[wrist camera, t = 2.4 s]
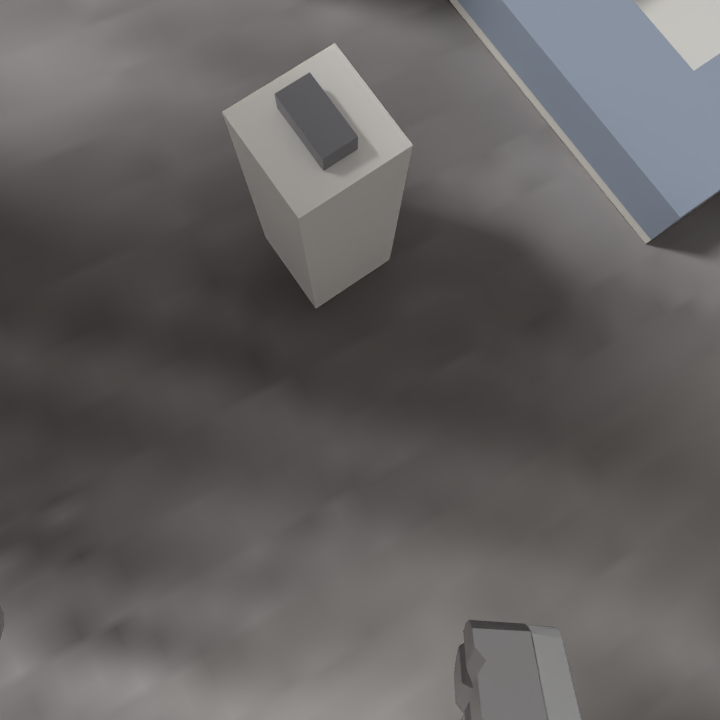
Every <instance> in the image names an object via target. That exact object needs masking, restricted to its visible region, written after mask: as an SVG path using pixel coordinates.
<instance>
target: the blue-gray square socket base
mask: <svg viewBox="0 0 720 720" xmlns="http://www.w3.org/2000/svg"><path fill="white" fill-rule="evenodd" d="M449 1H450V2H451V3H452V4H453V6H454V7H455V8H456V9H457V11H458V12H459V13H460V14H461V16H462V17H463V18H464V19H465V20H466V22H467V23H468V24H469V25H470V27H471V28H472V29H473V30H474V32H475V33H476V34H477V35H478V37H479V38H480V39H481V40H482V42H483V43H484V44H485V45H486V47H487V48H488V49H489V50H490V51H491V53H492V54H493V55H494V56H495V58H496V59H497V60H498V61H499V63H500V64H501V65H502V66H503V68H504V69H505V70H506V71H507V73H508V74H509V75H510V76H511V78H512V79H513V80H514V81H515V82H516V84H517V85H518V86H519V87H520V89H521V90H522V91H523V92H524V94H525V95H526V96H527V97H528V99H529V100H530V101H531V102H532V104H533V105H534V106H535V107H536V109H537V110H538V111H539V112H540V113H541V115H542V116H543V117H544V118H545V120H546V121H547V122H548V123H549V125H550V126H551V127H552V128H553V130H554V131H555V132H556V133H557V135H558V136H559V137H560V138H561V140H562V141H563V142H564V143H565V144H566V146H567V147H568V148H569V149H570V151H571V152H572V153H573V154H574V156H575V157H576V158H577V159H578V161H579V162H580V163H581V164H582V166H583V167H584V168H585V169H586V171H587V172H588V173H589V174H590V175H591V177H592V178H593V179H594V180H595V182H596V183H597V184H598V185H599V187H600V188H601V189H602V190H603V192H604V193H605V194H606V195H607V197H608V198H609V199H610V200H611V202H612V203H613V204H614V205H615V206H616V208H617V209H618V210H619V211H620V213H621V214H622V215H623V216H624V218H625V219H626V220H627V221H628V223H629V224H630V225H631V226H632V228H633V229H634V230H635V231H636V233H637V234H638V235H639V236H640V237H641V239H642V240H643V241H644V242H645V244H646V243H648V242H649V241H651V240H652V239H653V238H655V237H656V236H658V235H659V234H661V233H662V232H663V231H665V230H666V229H668V228H669V227H670V226H672V225H673V224H675V223H676V222H678V221H679V220H680V219H682V218H683V217H685V216H686V215H688V214H689V213H690V212H692V211H693V210H695V209H696V208H697V207H699V206H700V205H702V204H703V203H705V202H706V201H707V200H709V199H710V198H712V197H713V196H715V195H716V194H717V193H719V192H720V0H449Z"/></svg>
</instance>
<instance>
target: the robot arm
mask: <svg viewBox="0 0 720 720" xmlns="http://www.w3.org/2000/svg"><path fill="white" fill-rule="evenodd" d="M3 628H4V614H3V611H2V609H1V606H0V638H1V635H2V631H3ZM463 633H464V643H463V644H461V645H460V646H459V647H458V651H457V655H456V662H455V673H454V678H455V700H456V704H457V705H458V707H459V708H460V710H461V711H462V712H463V716H462V719H461V720H582V718H581V714H580V710H579V706H578V701H577V697H576V693H575V689H574V685H573V681H572V676H571V672H570V668H569V664H568V660H567V655H566V651H565V647H564V643H563V639H562V635H561V633H560V632H559V630H558V629H557V628H555V627H549V626H536V625H526V624H519V623H505V622H491V621H476V620H468V621H467V622H466V624H465V628H464V631H463Z"/></svg>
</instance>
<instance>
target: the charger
mask: <svg viewBox="0 0 720 720" xmlns="http://www.w3.org/2000/svg"><path fill="white" fill-rule="evenodd" d="M222 114H223V117H224V120H225V122H226V125H227V128H228V131H229V134H230V137H231V140H232V143H233V145H234V148H235V151H236V154H237V157H238V160H239V163H240V165H241V168H242V171H243V174H244V177H245V180H246V183H247V186H248V188H249V191H250V194H251V197H252V200H253V203H254V206H255V208H256V211H257V214H258V217H259V220H260V223H261V226H262V229H263V231H264V234H265V237H266V239H267V240H268V242H269V243H270V244H271V246H272V247H273V249H274V250H275V252H276V253H277V254H278V256H279V257H280V259H281V260H282V261H283V263H284V264H285V266H286V267H287V269H288V270H289V271H290V273H291V274H292V276H293V277H294V278H295V280H296V281H297V283H298V284H299V286H300V287H301V288H302V290H303V291H304V293H305V294H306V295H307V297H308V298H309V300H310V301H311V303H312V304H313V305H314V307H315V308H318V307H319V306H321V305H322V304H324V303H325V302H327V301H328V300H330V299H331V298H333V297H334V296H336V295H337V294H339V293H340V292H342V291H343V290H345V289H346V288H348V287H349V286H351V285H352V284H354V283H355V282H357V281H358V280H360V279H361V278H363V277H364V276H366V275H367V274H369V273H370V272H372V271H373V270H375V269H376V268H378V267H379V266H381V265H382V264H384V263H385V262H387V261H388V260H390V256H391V251H392V246H393V241H394V236H395V231H396V226H397V221H398V216H399V211H400V206H401V201H402V197H403V192H404V187H405V182H406V177H407V172H408V167H409V162H410V157H411V152H412V147H413V145H412V143H411V142H410V141H409V139H408V138H407V137H406V135H405V134H404V133H403V132H402V130H401V129H400V128H399V126H398V125H397V124H396V122H395V121H394V120H393V118H392V117H391V116H390V115H389V113H388V112H387V111H386V109H385V108H384V107H383V105H382V104H381V103H380V101H379V100H378V99H377V98H376V96H375V95H374V94H373V92H372V91H371V90H370V88H369V87H368V86H367V84H366V83H365V82H364V81H363V79H362V78H361V77H360V75H359V74H358V73H357V71H356V70H355V69H354V67H353V66H352V65H351V64H350V62H349V61H348V60H347V58H346V57H345V56H344V54H343V53H342V52H341V50H340V49H339V48H338V47H337V45H336V44H335V43H334V44H332V45H331V46H329V47H327V48H326V49H324V50H323V51H321V52H319V53H318V54H316V55H314V56H313V57H311V58H309V59H308V60H306V61H305V62H303V63H301V64H300V65H298V66H296V67H295V68H293V69H291V70H290V71H288V72H286V73H285V74H283V75H282V76H280V77H278V78H277V79H275V80H273V81H272V82H270V83H268V84H267V85H265V86H263V87H262V88H260V89H259V90H257V91H255V92H254V93H252V94H250V95H249V96H247V97H245V98H244V99H242V100H240V101H239V102H237V103H236V104H234V105H232V106H231V107H229V108H227V109H226V110H224V111H222Z"/></svg>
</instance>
